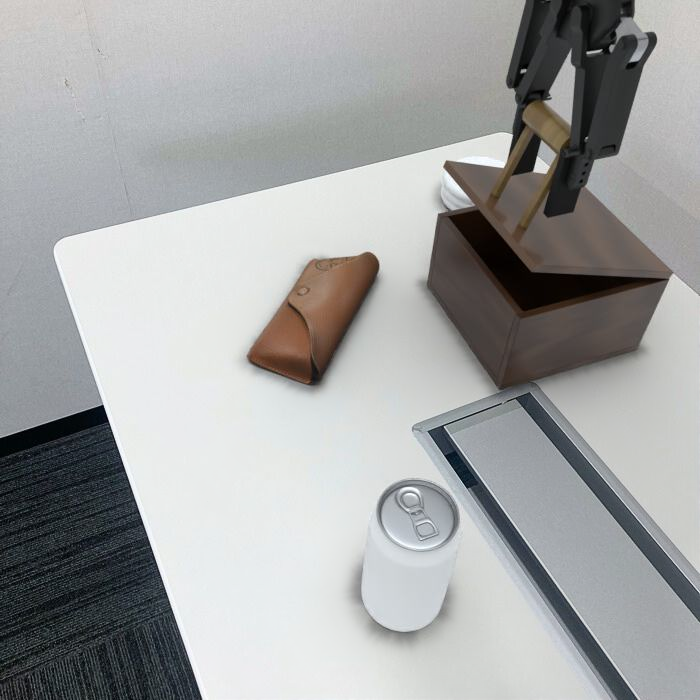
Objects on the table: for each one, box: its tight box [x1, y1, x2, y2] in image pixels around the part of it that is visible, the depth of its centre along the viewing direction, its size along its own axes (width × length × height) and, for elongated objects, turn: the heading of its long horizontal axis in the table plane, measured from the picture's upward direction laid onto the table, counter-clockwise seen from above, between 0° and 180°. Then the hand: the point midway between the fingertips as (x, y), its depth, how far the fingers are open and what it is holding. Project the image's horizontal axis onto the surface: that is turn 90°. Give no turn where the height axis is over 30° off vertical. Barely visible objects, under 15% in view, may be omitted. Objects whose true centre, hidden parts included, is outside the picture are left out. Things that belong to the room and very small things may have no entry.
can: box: [360, 477, 463, 633], centre depth 55 cm, size 6×6×12 cm
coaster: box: [440, 155, 507, 211], centre depth 95 cm, size 10×10×4 cm
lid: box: [442, 100, 674, 280], centre depth 70 cm, size 18×17×10 cm
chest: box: [426, 206, 670, 391], centre depth 78 cm, size 17×17×10 cm
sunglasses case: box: [246, 251, 380, 385], centre depth 79 cm, size 18×7×7 cm
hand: (538, 191), depth 69 cm, fingers closed on lid, 6 cm apart
